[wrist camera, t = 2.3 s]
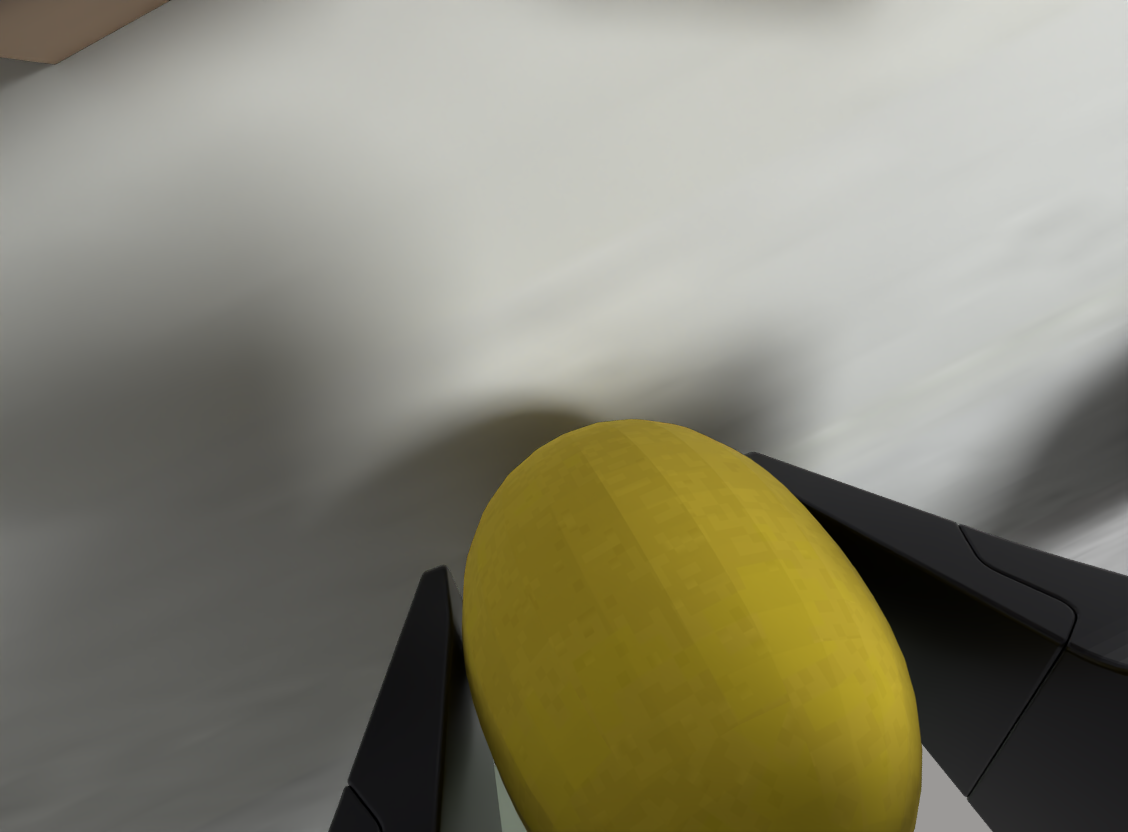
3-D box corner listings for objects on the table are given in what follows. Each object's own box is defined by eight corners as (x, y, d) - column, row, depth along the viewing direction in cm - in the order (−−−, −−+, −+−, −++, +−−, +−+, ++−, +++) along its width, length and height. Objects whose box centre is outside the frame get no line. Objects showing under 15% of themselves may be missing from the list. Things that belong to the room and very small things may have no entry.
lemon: (579, 589, 13) (791, 1071, 7) (378, 517, 10) (399, 1266, 4) (730, 424, 12) (1173, 814, 5) (550, 288, 9) (1056, 790, 2)
